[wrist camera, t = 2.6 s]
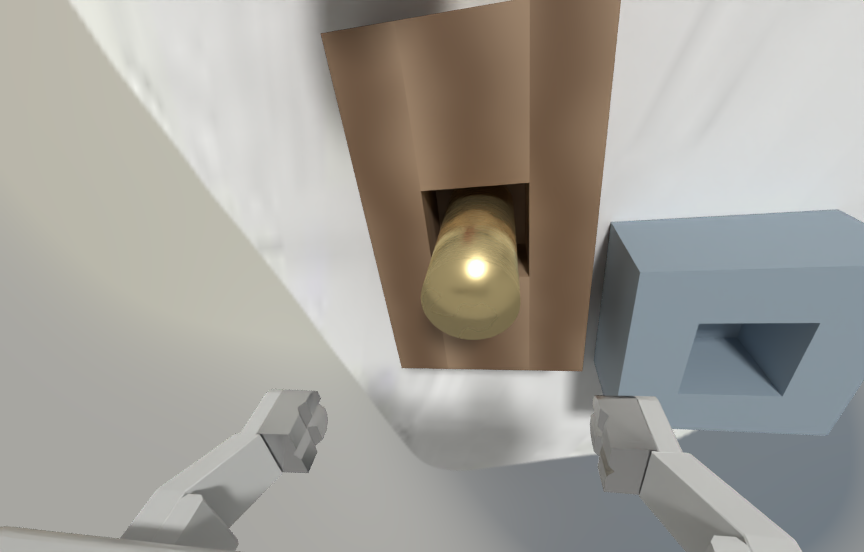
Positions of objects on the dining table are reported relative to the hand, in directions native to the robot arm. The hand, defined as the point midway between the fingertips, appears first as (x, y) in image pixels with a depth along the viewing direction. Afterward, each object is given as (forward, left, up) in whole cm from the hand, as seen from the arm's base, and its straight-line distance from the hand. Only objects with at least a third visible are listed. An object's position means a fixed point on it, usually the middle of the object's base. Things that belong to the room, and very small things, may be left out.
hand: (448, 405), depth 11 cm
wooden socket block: (0, 0, -16) cm, 16 cm away
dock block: (-14, +8, -16) cm, 23 cm away
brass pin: (0, 0, -15) cm, 15 cm away
